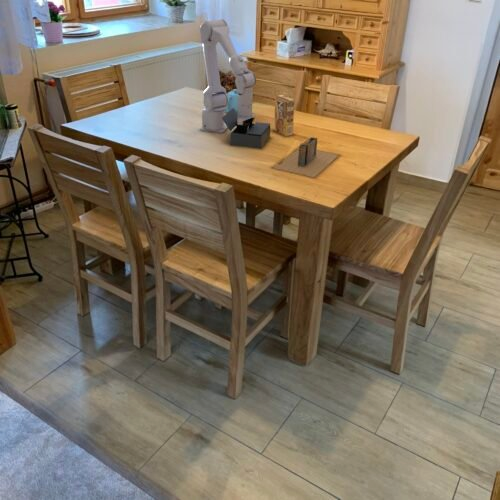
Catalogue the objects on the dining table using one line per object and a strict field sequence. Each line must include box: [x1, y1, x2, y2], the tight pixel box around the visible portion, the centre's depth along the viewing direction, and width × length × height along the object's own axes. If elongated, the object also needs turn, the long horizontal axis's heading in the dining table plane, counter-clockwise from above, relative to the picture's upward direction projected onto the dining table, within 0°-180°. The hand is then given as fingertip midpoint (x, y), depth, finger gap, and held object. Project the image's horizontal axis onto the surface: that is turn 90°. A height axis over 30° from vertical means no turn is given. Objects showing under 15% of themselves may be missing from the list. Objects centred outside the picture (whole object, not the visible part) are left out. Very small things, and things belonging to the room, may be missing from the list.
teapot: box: [224, 88, 254, 114], centre depth 242 cm, size 15×15×10 cm
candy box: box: [273, 94, 296, 137], centre depth 214 cm, size 9×4×15 cm, turn 33°
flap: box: [222, 108, 238, 132], centre depth 206 cm, size 6×15×1 cm
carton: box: [230, 121, 271, 149], centre depth 207 cm, size 13×15×6 cm
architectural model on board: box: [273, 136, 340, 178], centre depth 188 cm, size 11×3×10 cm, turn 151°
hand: (244, 136), depth 208 cm, fingers open, 5 cm apart
